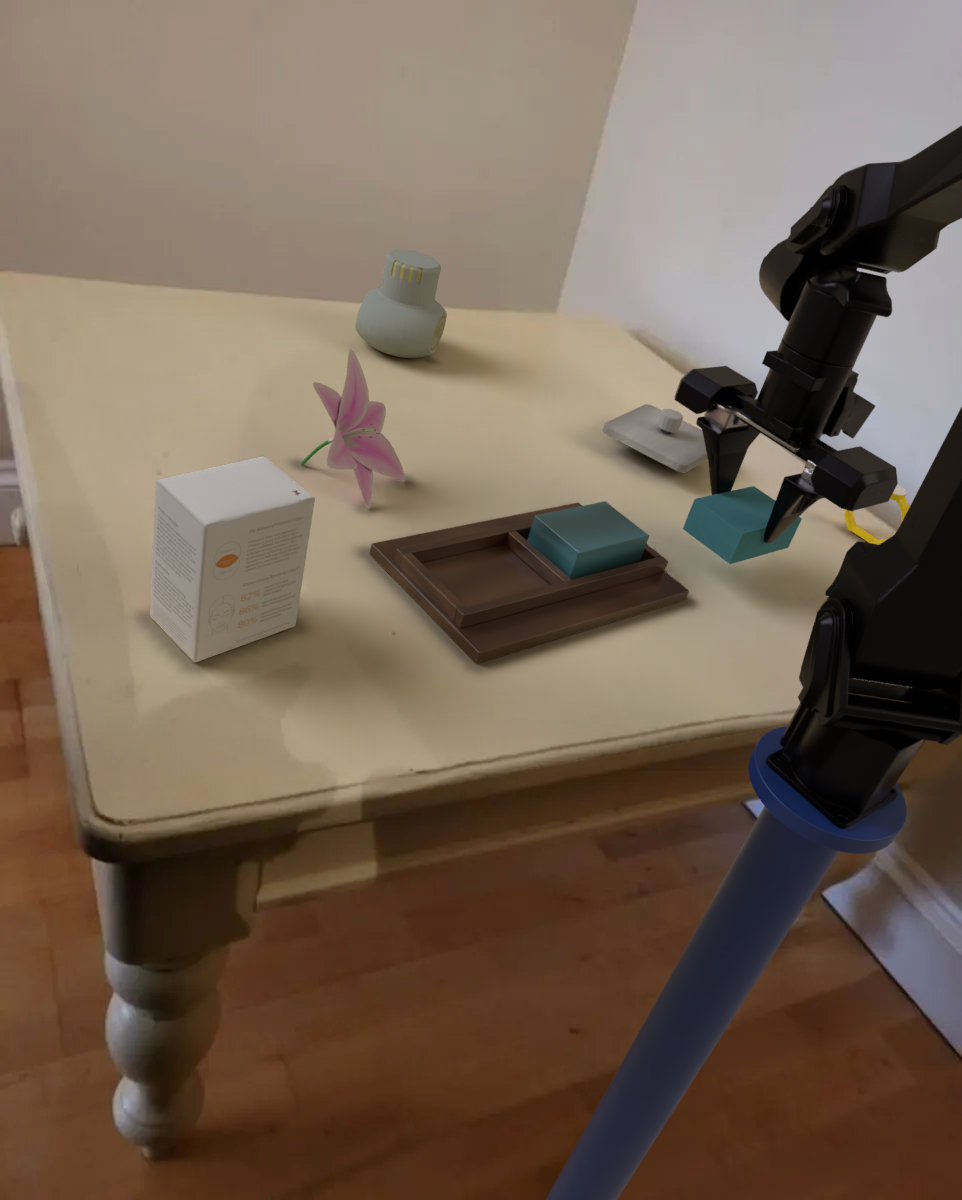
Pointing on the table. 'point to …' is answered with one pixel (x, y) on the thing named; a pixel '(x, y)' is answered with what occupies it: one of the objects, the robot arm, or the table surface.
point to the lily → (358, 431)
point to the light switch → (660, 436)
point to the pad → (736, 524)
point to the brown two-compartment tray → (530, 576)
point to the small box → (228, 555)
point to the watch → (851, 525)
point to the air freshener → (404, 307)
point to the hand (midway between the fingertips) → (742, 523)
